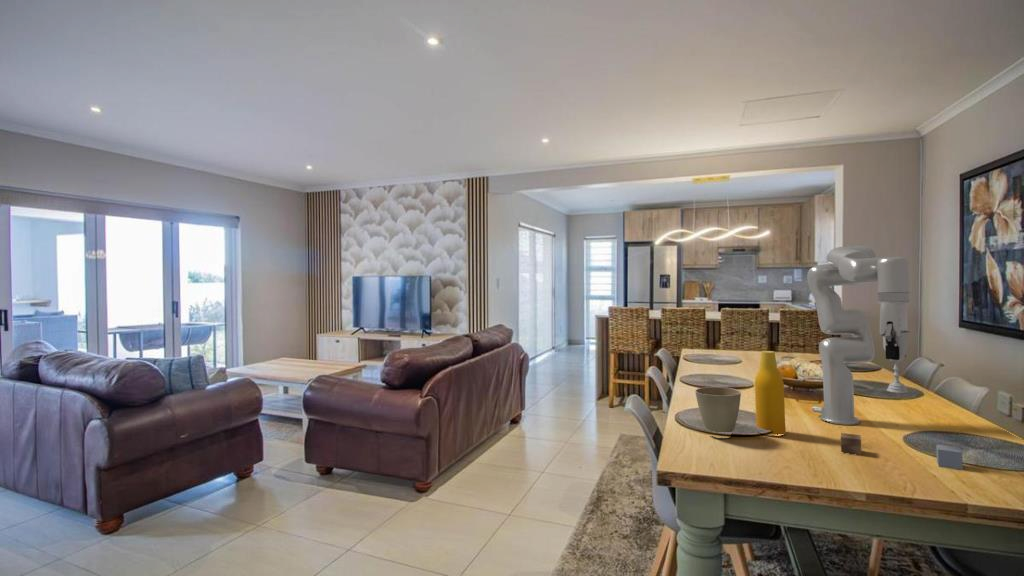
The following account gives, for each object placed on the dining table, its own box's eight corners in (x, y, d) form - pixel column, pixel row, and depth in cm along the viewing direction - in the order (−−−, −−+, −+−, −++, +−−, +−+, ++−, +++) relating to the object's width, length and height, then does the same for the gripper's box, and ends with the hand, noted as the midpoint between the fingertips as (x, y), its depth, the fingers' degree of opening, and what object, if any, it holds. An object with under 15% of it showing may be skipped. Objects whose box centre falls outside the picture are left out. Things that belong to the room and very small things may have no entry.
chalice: (917, 393, 140) (915, 332, 140) (891, 393, 142) (889, 332, 142) (902, 388, 147) (900, 329, 147) (877, 388, 149) (875, 330, 149)
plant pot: (737, 430, 175) (735, 386, 175) (747, 443, 161) (745, 395, 161) (694, 429, 179) (692, 386, 179) (700, 441, 164) (698, 395, 164)
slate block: (938, 467, 136) (938, 449, 136) (936, 461, 140) (936, 444, 140) (962, 470, 133) (962, 452, 133) (960, 464, 137) (959, 447, 137)
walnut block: (841, 453, 149) (840, 437, 149) (841, 448, 153) (841, 432, 153) (861, 455, 146) (860, 439, 146) (861, 451, 150) (860, 435, 150)
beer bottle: (779, 438, 164) (776, 354, 164) (751, 433, 171) (748, 352, 171) (789, 432, 171) (786, 351, 171) (762, 427, 177) (759, 349, 178)
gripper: (887, 297, 153) (888, 353, 153) (869, 299, 142) (871, 360, 142) (917, 297, 147) (919, 355, 147) (901, 299, 136) (903, 362, 136)
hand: (895, 357), depth 144 cm, fingers closed on chalice, 6 cm apart
